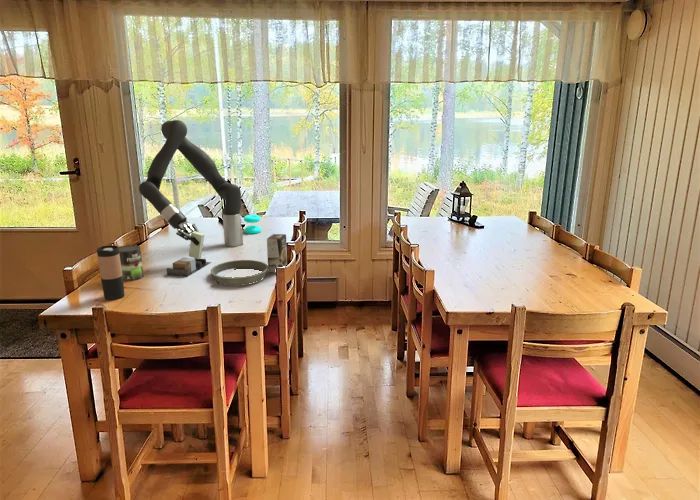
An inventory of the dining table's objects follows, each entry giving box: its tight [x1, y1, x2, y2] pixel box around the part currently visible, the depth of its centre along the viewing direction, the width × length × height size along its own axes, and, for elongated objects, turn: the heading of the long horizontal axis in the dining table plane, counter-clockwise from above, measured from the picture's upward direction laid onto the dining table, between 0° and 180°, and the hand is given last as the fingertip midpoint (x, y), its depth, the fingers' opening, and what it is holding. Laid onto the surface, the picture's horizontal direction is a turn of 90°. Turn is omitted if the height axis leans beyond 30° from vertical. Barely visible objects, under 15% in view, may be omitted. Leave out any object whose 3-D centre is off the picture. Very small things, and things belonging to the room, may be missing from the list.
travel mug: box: [96, 245, 125, 301], centre depth 184 cm, size 8×8×20 cm
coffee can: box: [118, 244, 144, 282], centre depth 205 cm, size 10×10×14 cm
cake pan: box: [210, 259, 268, 286], centre depth 209 cm, size 25×25×4 cm
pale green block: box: [188, 231, 205, 259], centre depth 221 cm, size 2×5×12 cm, turn 77°
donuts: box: [243, 214, 262, 235], centre depth 285 cm, size 10×10×10 cm
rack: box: [165, 258, 212, 278], centre depth 218 cm, size 21×10×4 cm, turn 167°
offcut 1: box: [172, 260, 191, 273], centre depth 211 cm, size 4×6×5 cm, turn 77°
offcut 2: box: [177, 257, 196, 272], centre depth 215 cm, size 4×6×5 cm, turn 77°
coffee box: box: [266, 233, 288, 274], centre depth 217 cm, size 9×6×16 cm
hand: (199, 243), depth 221 cm, fingers closed on pale green block, 2 cm apart
